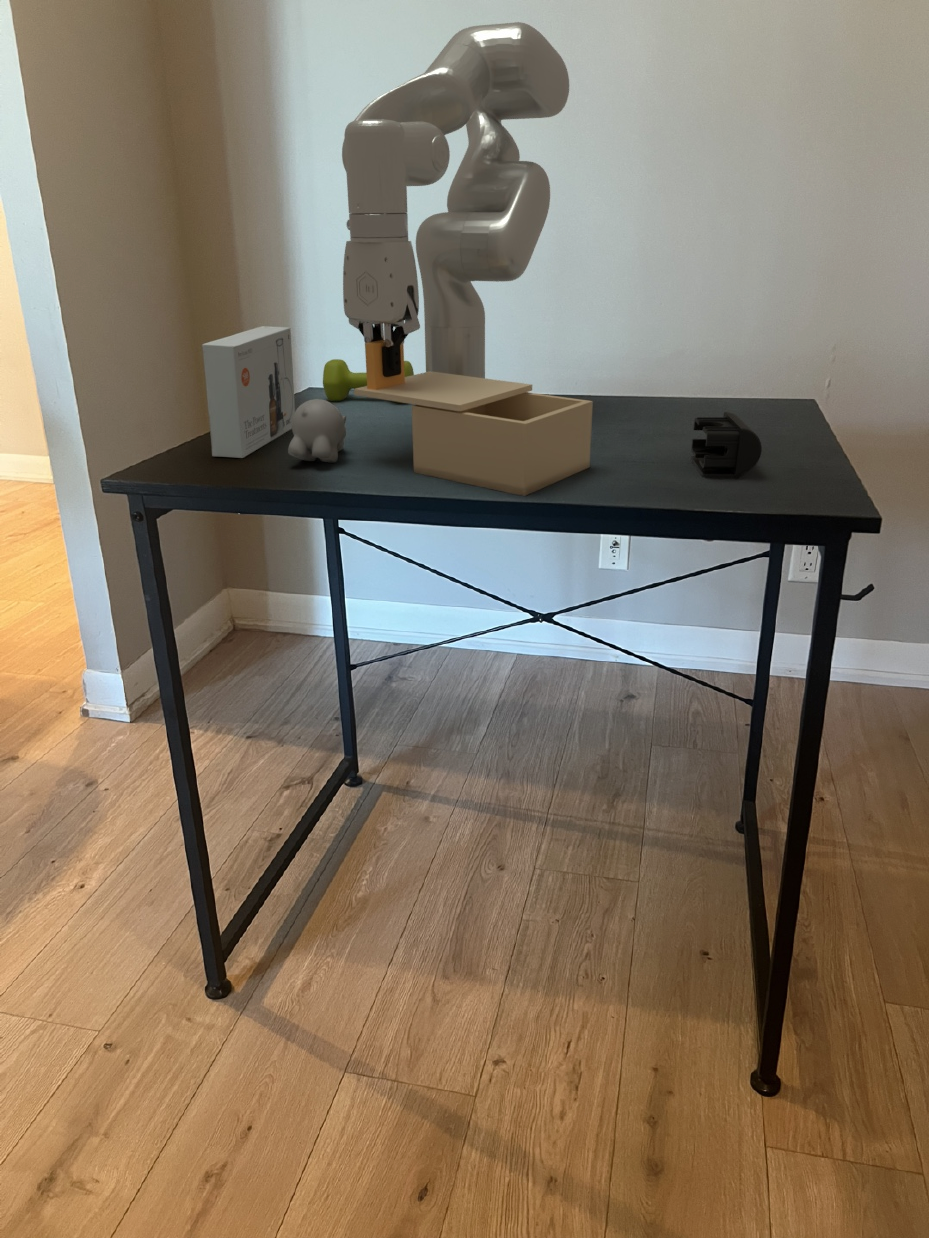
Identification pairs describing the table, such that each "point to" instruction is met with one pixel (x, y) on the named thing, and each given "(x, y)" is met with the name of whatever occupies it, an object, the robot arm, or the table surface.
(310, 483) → the table surface
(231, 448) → the skincare box
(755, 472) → the table surface
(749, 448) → the end cap
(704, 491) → the table surface
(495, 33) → the robot arm
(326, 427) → the white animal toy
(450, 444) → the carton
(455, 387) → the flap
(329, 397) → the dumbbell
